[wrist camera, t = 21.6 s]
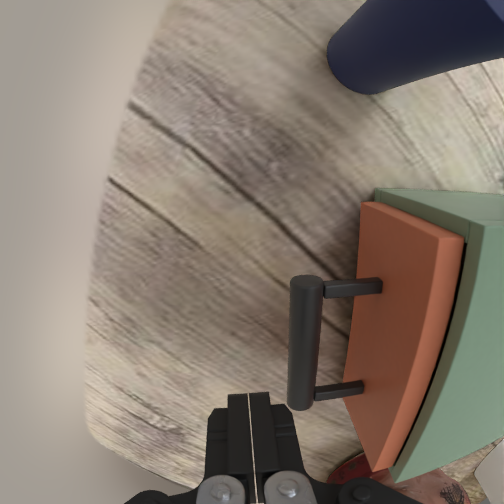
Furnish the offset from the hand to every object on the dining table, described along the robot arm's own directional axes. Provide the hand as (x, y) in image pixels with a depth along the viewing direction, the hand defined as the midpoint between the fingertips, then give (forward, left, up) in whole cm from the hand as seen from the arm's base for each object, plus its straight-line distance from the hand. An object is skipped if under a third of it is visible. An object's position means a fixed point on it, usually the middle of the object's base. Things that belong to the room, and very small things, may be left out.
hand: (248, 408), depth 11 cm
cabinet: (0, +15, -7) cm, 16 cm away
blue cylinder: (-14, +7, -7) cm, 17 cm away
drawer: (0, +11, -6) cm, 12 cm away
